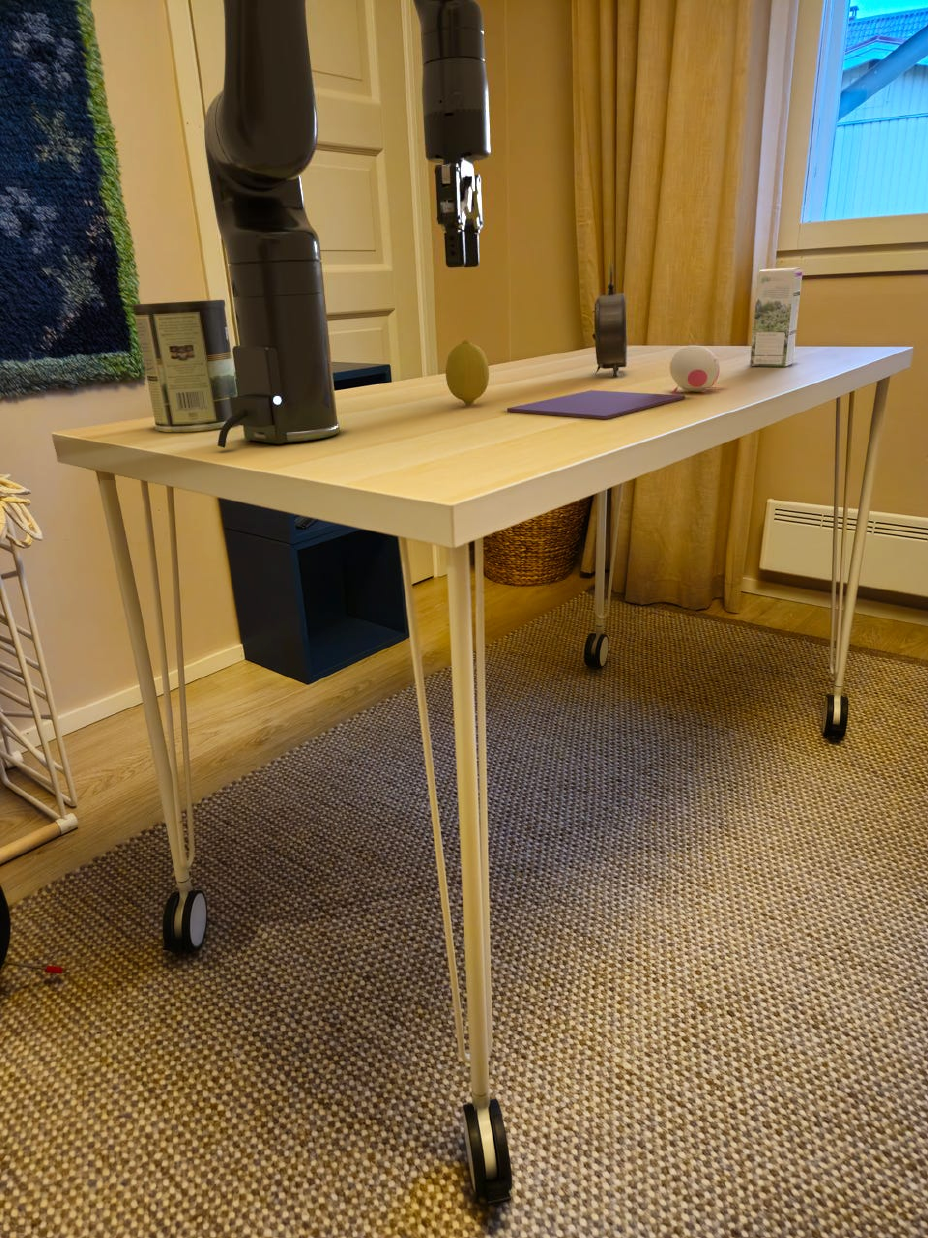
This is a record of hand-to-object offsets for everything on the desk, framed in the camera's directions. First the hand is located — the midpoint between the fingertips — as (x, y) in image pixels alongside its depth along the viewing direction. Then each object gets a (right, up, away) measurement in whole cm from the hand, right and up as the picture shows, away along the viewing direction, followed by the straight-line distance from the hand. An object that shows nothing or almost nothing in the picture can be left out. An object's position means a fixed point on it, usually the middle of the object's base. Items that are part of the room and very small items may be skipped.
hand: (463, 266), depth 100 cm
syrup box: (+50, -2, +34) cm, 60 cm away
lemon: (+1, -15, +6) cm, 17 cm away
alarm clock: (+23, -4, +32) cm, 40 cm away
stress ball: (+31, -13, +9) cm, 35 cm away
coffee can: (-32, -19, +1) cm, 38 cm away
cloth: (+17, -16, +1) cm, 23 cm away
